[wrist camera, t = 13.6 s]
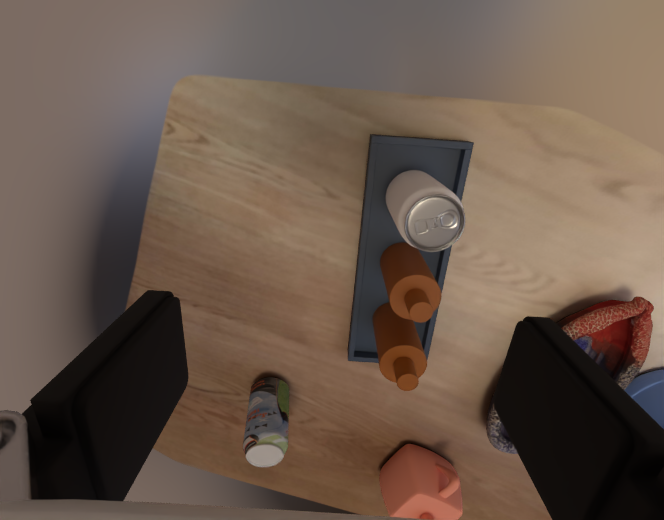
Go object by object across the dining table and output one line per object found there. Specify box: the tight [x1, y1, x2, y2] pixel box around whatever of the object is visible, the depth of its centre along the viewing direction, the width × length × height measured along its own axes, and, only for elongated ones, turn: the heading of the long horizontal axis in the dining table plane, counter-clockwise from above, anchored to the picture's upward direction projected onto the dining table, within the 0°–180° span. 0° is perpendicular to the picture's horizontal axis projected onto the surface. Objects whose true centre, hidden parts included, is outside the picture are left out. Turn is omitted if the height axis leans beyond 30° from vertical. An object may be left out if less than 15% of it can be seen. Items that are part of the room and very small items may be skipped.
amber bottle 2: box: [372, 302, 427, 391], centre depth 45 cm, size 6×6×13 cm
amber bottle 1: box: [380, 242, 441, 323], centre depth 42 cm, size 6×6×13 cm
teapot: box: [379, 444, 463, 520], centre depth 59 cm, size 12×18×10 cm, turn 148°
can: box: [386, 170, 465, 252], centre depth 38 cm, size 6×6×12 cm
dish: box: [486, 297, 654, 454], centre depth 52 cm, size 16×31×5 cm, turn 151°
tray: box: [348, 134, 474, 363], centre depth 47 cm, size 32×12×2 cm, turn 176°
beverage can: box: [243, 377, 289, 467], centre depth 52 cm, size 6×7×12 cm
